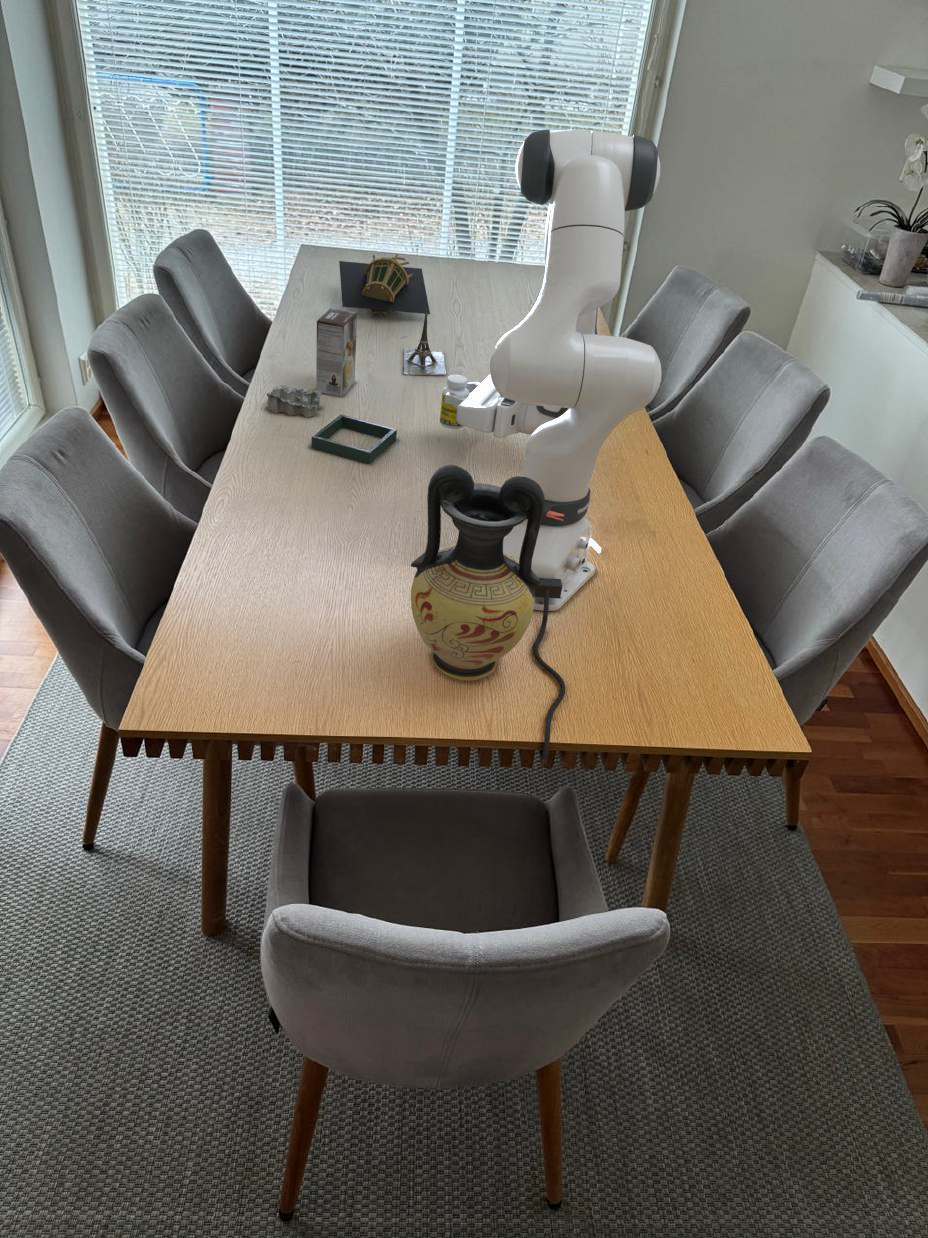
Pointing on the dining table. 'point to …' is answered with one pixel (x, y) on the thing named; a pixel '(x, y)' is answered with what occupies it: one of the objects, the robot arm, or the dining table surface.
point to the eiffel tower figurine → (423, 358)
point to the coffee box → (336, 351)
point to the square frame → (351, 452)
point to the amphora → (476, 572)
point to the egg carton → (294, 401)
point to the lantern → (383, 286)
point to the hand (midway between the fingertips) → (451, 391)
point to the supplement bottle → (448, 411)
